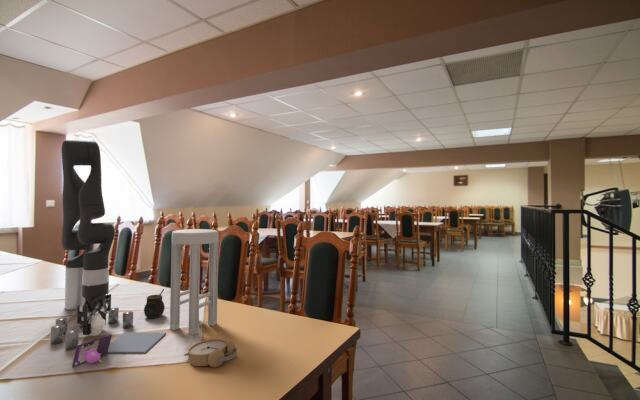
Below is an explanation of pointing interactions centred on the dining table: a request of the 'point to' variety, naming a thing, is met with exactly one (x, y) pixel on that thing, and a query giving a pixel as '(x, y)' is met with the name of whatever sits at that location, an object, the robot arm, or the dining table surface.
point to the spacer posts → (73, 335)
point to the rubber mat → (134, 342)
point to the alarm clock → (211, 352)
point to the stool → (193, 277)
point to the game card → (93, 350)
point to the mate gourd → (154, 306)
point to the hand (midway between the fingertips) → (94, 329)
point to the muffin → (97, 325)
